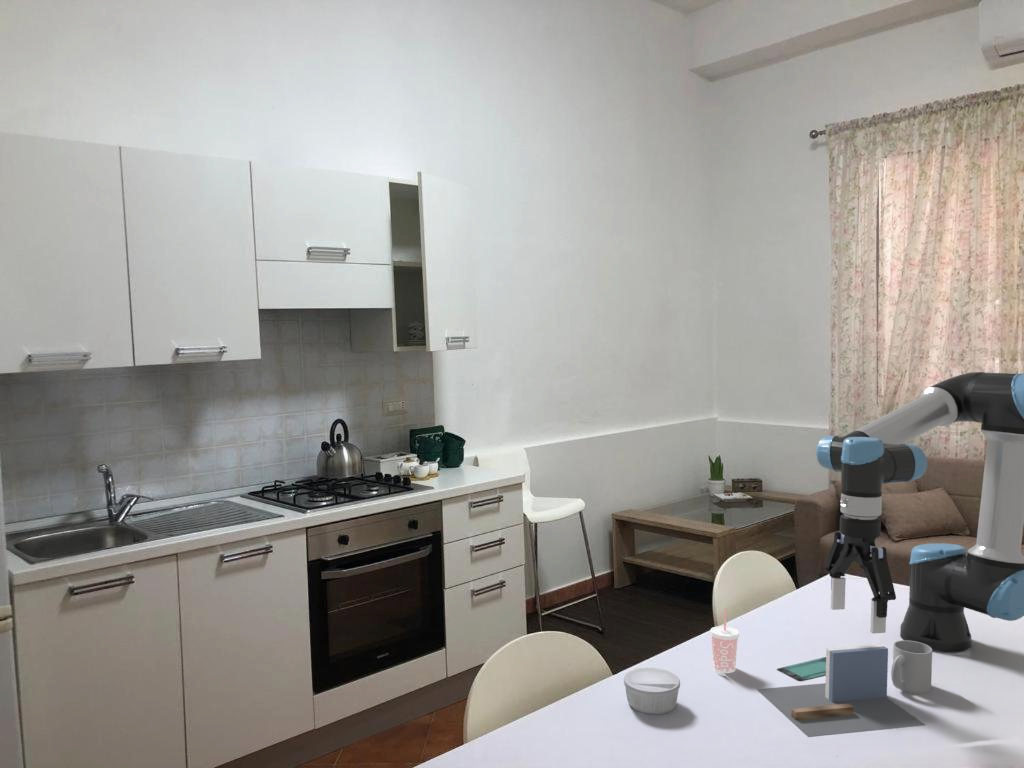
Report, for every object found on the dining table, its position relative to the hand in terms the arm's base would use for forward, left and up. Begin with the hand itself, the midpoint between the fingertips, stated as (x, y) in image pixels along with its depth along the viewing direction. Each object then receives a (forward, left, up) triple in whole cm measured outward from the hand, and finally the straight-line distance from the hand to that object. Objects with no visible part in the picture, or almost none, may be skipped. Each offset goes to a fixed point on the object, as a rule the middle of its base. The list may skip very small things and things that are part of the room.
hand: (856, 620), depth 164 cm
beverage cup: (+20, -18, -17) cm, 32 cm away
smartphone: (+1, -14, -17) cm, 22 cm away
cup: (-13, -2, -17) cm, 21 cm away
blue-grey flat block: (0, 0, -16) cm, 16 cm away
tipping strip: (+11, +6, -16) cm, 20 cm away
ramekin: (+41, -6, -17) cm, 44 cm away
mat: (+6, +3, -16) cm, 18 cm away
